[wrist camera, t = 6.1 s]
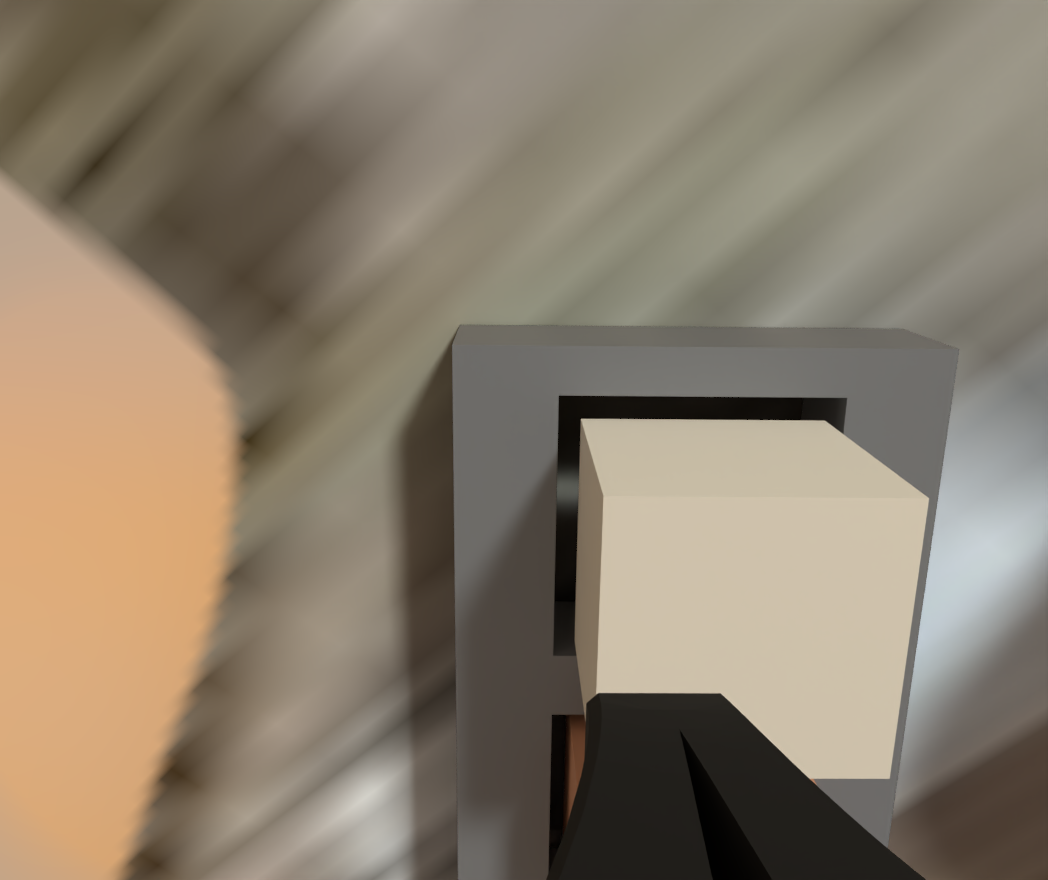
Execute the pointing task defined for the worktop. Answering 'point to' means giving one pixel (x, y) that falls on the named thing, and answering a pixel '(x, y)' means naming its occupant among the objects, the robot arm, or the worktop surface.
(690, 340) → the compartment tray
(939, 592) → the worktop surface
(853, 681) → the block cream
